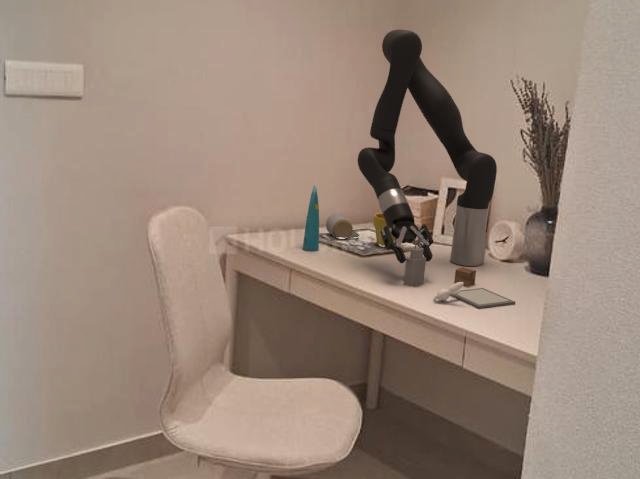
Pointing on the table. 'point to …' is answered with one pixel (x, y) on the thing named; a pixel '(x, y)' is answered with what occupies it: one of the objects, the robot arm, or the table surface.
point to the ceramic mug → (340, 226)
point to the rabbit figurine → (449, 291)
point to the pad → (482, 298)
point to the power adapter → (415, 267)
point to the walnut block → (465, 276)
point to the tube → (312, 224)
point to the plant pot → (380, 227)
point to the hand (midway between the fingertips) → (416, 261)
